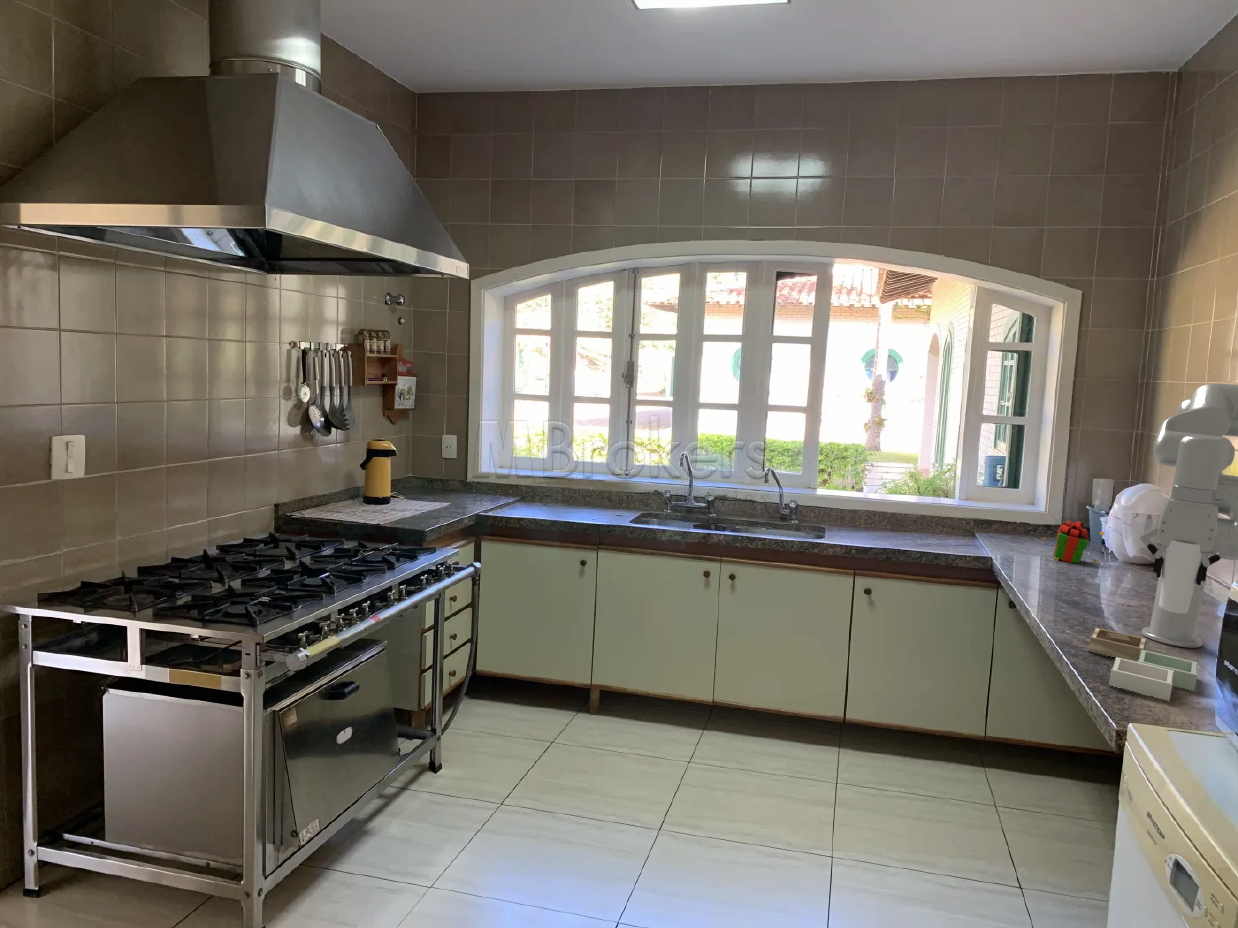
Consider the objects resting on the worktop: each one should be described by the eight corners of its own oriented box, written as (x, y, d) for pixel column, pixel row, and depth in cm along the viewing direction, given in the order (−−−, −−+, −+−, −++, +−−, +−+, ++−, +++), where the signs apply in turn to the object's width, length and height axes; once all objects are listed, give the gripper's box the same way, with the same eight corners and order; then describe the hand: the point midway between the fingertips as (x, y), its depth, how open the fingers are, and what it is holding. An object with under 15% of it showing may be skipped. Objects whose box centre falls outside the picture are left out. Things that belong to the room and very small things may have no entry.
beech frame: (1092, 641, 205) (1095, 627, 205) (1144, 653, 199) (1146, 638, 199) (1088, 651, 197) (1090, 637, 196) (1141, 664, 191) (1144, 649, 190)
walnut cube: (1104, 648, 200) (1107, 632, 200) (1124, 652, 199) (1127, 635, 199) (1108, 653, 197) (1111, 637, 196) (1128, 657, 195) (1130, 640, 195)
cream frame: (1113, 672, 184) (1115, 656, 183) (1171, 686, 178) (1174, 670, 177) (1108, 685, 175) (1111, 669, 175) (1169, 701, 169) (1172, 684, 169)
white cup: (1195, 617, 176) (1209, 546, 174) (1158, 611, 178) (1170, 541, 176) (1187, 609, 182) (1200, 540, 180) (1151, 603, 184) (1163, 535, 182)
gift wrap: (1096, 574, 288) (1108, 534, 284) (1036, 559, 295) (1047, 519, 292) (1093, 560, 305) (1105, 522, 302) (1037, 545, 313) (1047, 508, 309)
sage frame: (1138, 664, 190) (1140, 649, 190) (1195, 677, 185) (1197, 662, 184) (1134, 676, 182) (1137, 661, 182) (1194, 691, 176) (1197, 674, 176)
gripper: (1243, 501, 175) (1227, 586, 177) (1144, 487, 185) (1131, 568, 187) (1244, 504, 169) (1228, 592, 171) (1143, 490, 178) (1129, 574, 181)
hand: (1178, 579), depth 179 cm, fingers closed on white cup, 6 cm apart
